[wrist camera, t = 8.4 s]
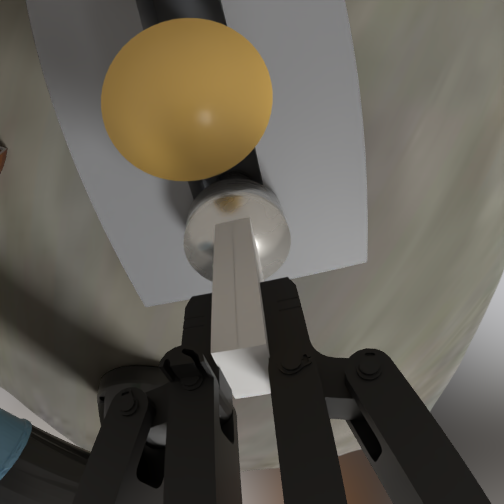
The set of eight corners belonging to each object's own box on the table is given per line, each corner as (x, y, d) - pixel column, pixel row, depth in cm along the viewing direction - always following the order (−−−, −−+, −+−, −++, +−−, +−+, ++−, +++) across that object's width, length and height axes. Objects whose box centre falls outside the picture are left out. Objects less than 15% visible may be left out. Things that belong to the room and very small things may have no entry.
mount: (151, 256, 24) (137, 308, 19) (55, -33, 10) (9, -47, 6) (348, 214, 23) (376, 259, 18) (292, -98, 9) (313, -136, 5)
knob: (206, 231, 21) (201, 294, 16) (184, 163, 18) (168, 211, 13) (279, 215, 20) (296, 275, 16) (265, 144, 18) (282, 185, 13)
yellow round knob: (164, 144, 14) (132, 198, 9) (136, 50, 11) (82, 53, 7) (264, 119, 14) (286, 161, 9) (242, 21, 11) (253, 0, 6)
